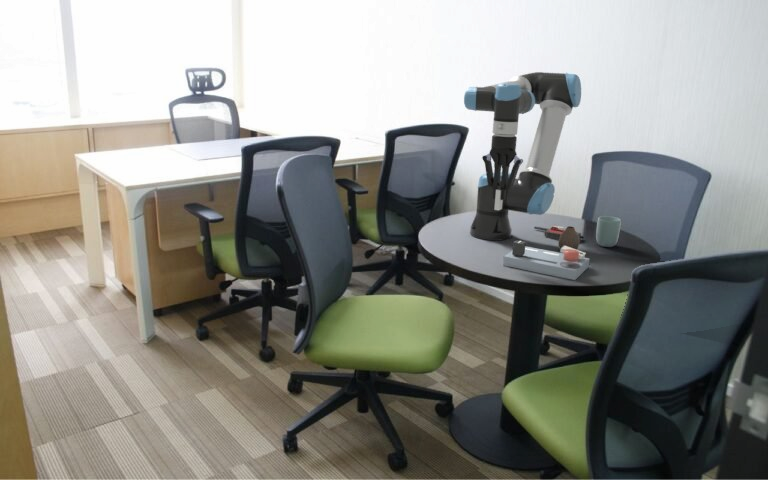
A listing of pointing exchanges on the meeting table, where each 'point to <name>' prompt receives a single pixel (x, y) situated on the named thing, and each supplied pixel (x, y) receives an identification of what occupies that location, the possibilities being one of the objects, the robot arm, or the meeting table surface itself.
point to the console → (546, 263)
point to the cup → (607, 231)
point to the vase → (569, 238)
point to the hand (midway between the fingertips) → (498, 209)
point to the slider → (518, 248)
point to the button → (571, 255)
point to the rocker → (581, 254)
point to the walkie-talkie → (555, 232)
